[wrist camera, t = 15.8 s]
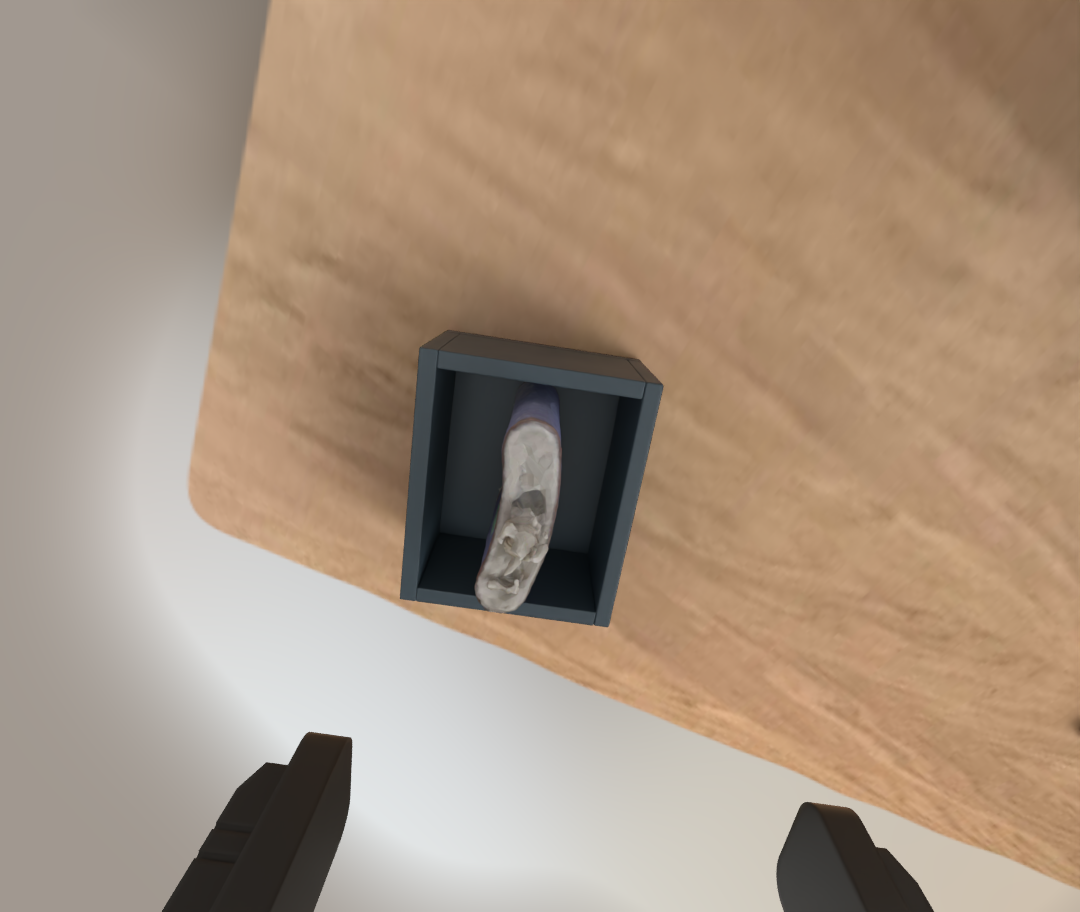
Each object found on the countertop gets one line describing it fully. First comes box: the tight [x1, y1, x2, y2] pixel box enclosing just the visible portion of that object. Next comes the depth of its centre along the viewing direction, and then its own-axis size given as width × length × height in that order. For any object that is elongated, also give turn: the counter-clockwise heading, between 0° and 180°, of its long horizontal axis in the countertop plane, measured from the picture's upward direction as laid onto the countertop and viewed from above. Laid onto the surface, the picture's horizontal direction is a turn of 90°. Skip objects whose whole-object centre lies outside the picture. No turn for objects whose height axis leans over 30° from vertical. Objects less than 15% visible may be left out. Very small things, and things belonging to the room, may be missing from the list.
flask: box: [474, 382, 562, 613], centre depth 26 cm, size 9×3×11 cm, turn 168°
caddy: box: [400, 330, 664, 627], centre depth 29 cm, size 11×13×7 cm
